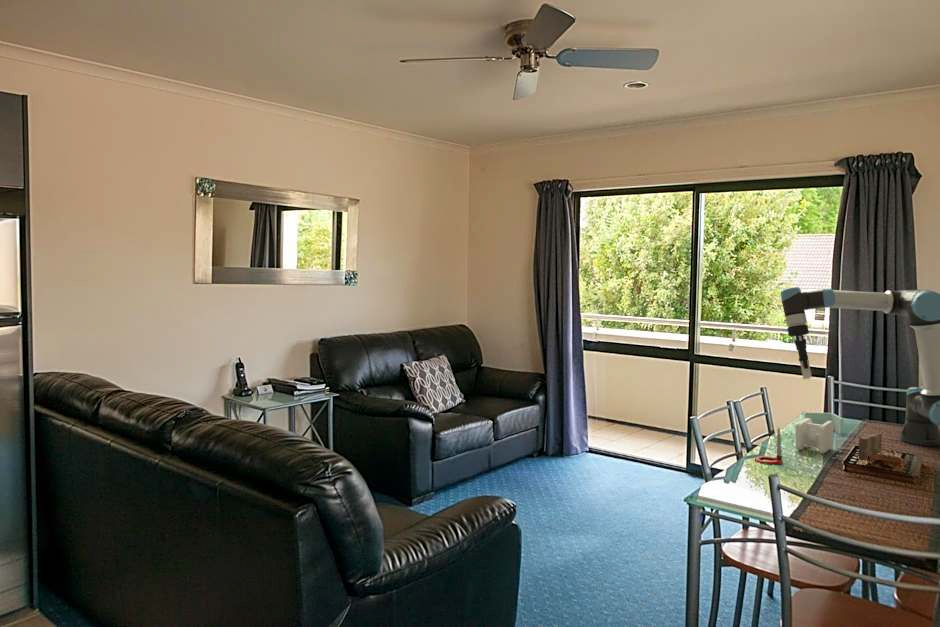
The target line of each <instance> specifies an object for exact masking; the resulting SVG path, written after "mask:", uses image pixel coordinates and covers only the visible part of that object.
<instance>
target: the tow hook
mask: <svg viewBox="0 0 940 627" xmlns="http://www.w3.org/2000/svg"><path fill="white" fill-rule="evenodd" d="M781 436H782V435H781V428H779V427H777V434H776V442H777V443H776V444H777V445H776V446H777V448H776V457H775V456H769V455H768V456H767V455H759V456H756V457H754V461H755V462H756V461H757V462H756V463H759V462H760V463H759V464H763V463H768V464H767V465H776V464H779V465H780V464H781V465H783V464H784V463H783V456H782V446H781V445H782V443H781V442H782V440H781ZM762 458H768V459H767V460H764V459H762ZM770 459H772V460H770Z"/></svg>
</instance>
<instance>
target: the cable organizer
mask: <svg viewBox="0 0 940 627" xmlns="http://www.w3.org/2000/svg"><path fill="white" fill-rule="evenodd" d="M794 427H795V428H794V429H795V449H796V450H798V451H800V450H801V451H803V450H804V449H805V448H807V449H809V447H813V448H815V449H816V450H818V452H819V454H822V453H823V454H822V455H825V454H826V453H827V452H829V451H830V450H831V449H832V448H833V442H834V430H833V421H827V422H826V423H824V424H822V425H820V424H813V423H812V420H811V419H810V418H805V417H804V419H801V420H800V421H798V422H797V423H796V424H795V426H794ZM802 449H803V450H802ZM828 450H829V451H828ZM825 452H826V453H825ZM824 453H825V454H824Z"/></svg>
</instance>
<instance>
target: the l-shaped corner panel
mask: <svg viewBox="0 0 940 627" xmlns="http://www.w3.org/2000/svg"><path fill="white" fill-rule="evenodd" d="M805 418H810V419H811V420H812V423H813V424H820V425H822V424H824V423H826V422H827V421H833V432H835V433H837V434H839V435H842V434H844V418H842V417H841V416H839V415H837V414H835V413H834V412H816V411H815V412H813V411H812V412H811V411H810V412H809V411H807V412H806V411H805V412H804V419H805Z"/></svg>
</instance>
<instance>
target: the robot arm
mask: <svg viewBox="0 0 940 627" xmlns="http://www.w3.org/2000/svg"><path fill="white" fill-rule="evenodd" d="M780 297H781V298H780V299H781V304H782V308H783V314H784V318H785V319H783V322H785V324H786V326H787V329H786V330H787V334H788V337H790V338H792V337H795V340H794V344H795V348H796V350H797V352H798V357H799V358H798V361H799V363H800V368H801V374H802V378H803V380H807V379H808V380H809V379H811V378H812V377H813V376H812V371H811V366H810V361H809V356H808V352H807V340H806V339H805V336H807V335H809V334H810V333H809V332H810V331H809V327H808V324H807V323H808V320H807V316H806V312H805V311H808V310H815V309H823V308H824V309H825V308H826V309H827V308H830V309H844V310H845V309H846V310H847V309H848V310H863V311H879V312H883V314H888V315H897V316H901V317H905V318H907V319H908V324H909V325H908V326H909V327H910V328H912V329H914V333H915V339H916V345H917V346H916V347H917V352H918V359H919V364H920V371H921V372H920V373H921V377H922V383H923V387H920V386H919V387H917V386H911V387H908V388H907V390H906V394H905V396H906V400H905V401H906V404H905V422H904V423H903V426H902V427H901V428H902V429H901V430H900V433H899V440H900V441H901V442H904V443H908V444H913V445H916V446H926V447H940V293H939V292H936V291H933V290H931V289H930V290H929V289H905V290H886V291H885V292H878V291H877V292H876V291H857V290H838V289H836V290H835V289H832V288H806V287H804V288H800V287H799V286H795V287H794V286H793V287H788V288H784V289H782V290H781V291H780Z"/></svg>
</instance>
